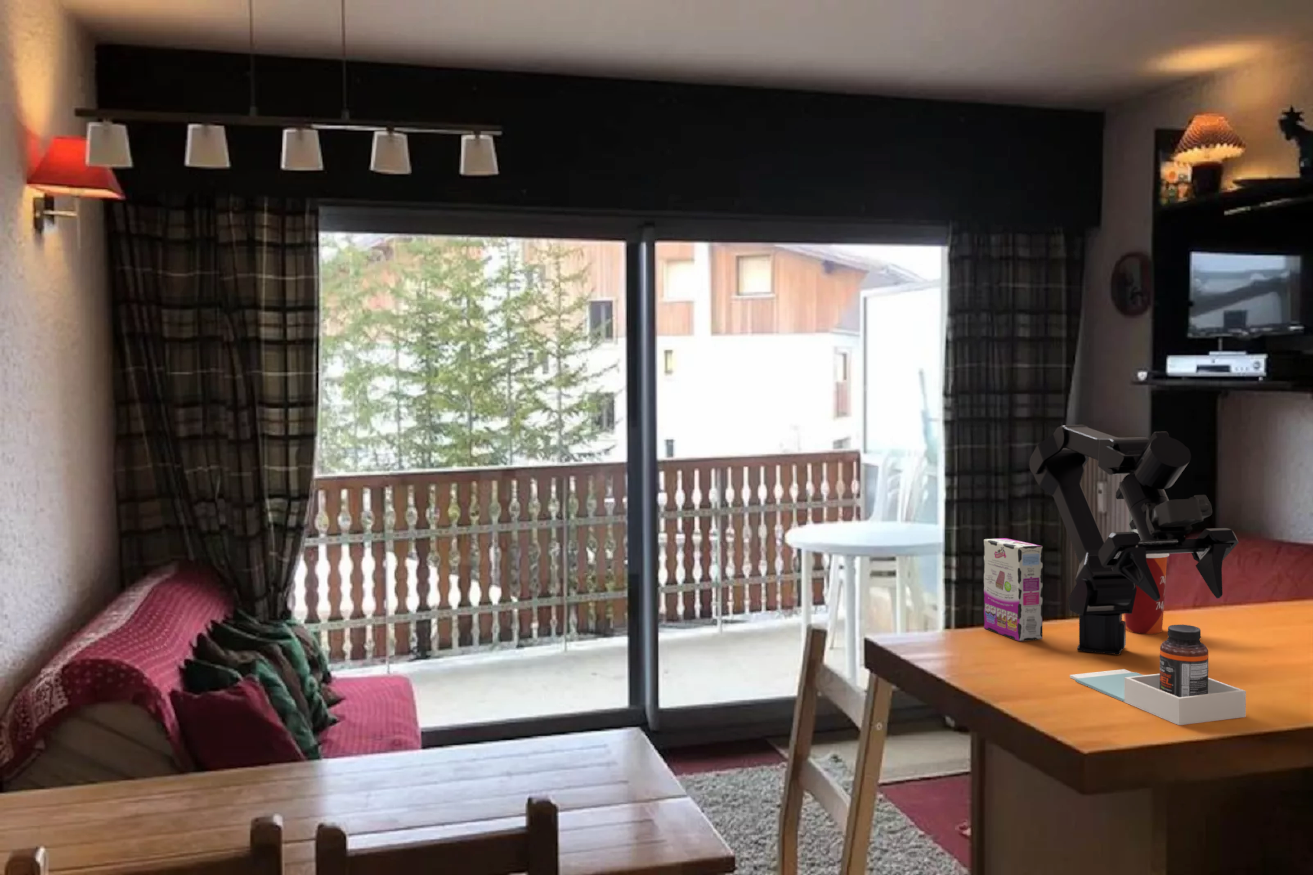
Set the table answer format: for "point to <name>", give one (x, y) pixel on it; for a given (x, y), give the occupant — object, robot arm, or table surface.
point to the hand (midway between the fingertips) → (1189, 598)
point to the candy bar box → (1013, 588)
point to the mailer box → (1168, 697)
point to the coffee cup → (1149, 600)
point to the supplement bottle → (1184, 662)
